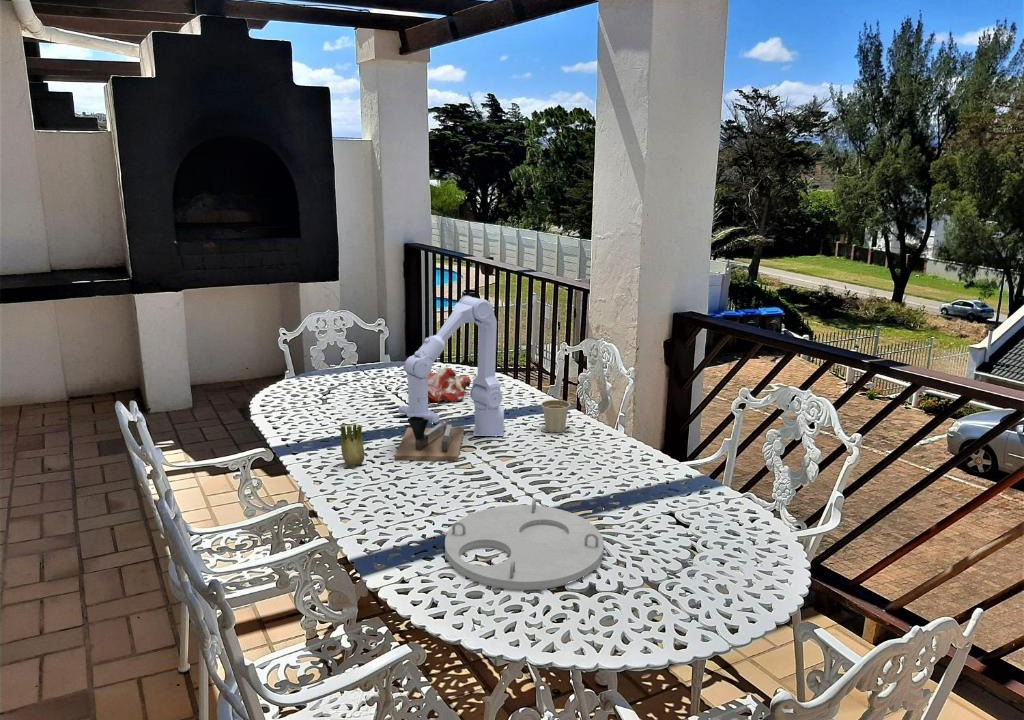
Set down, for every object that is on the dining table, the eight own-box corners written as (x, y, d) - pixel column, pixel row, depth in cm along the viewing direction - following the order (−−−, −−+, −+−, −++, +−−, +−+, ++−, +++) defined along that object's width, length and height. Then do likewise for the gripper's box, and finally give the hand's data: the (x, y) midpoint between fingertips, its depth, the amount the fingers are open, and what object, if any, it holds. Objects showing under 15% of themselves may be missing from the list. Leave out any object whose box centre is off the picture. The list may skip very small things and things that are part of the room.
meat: (466, 406, 259) (466, 379, 256) (407, 405, 260) (406, 378, 257) (472, 389, 279) (472, 364, 277) (417, 388, 280) (417, 363, 278)
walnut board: (464, 432, 232) (464, 428, 231) (457, 461, 208) (457, 456, 208) (407, 432, 232) (407, 427, 231) (394, 460, 209) (394, 455, 208)
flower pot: (536, 432, 233) (536, 406, 230) (546, 423, 241) (546, 398, 239) (564, 436, 229) (565, 410, 227) (573, 427, 238) (574, 401, 235)
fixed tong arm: (447, 433, 225) (447, 424, 225) (452, 433, 225) (452, 424, 225) (442, 451, 211) (441, 441, 210) (447, 451, 211) (447, 441, 210)
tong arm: (442, 429, 230) (441, 419, 229) (450, 430, 229) (449, 420, 228) (413, 449, 212) (413, 438, 212) (422, 450, 211) (421, 440, 211)
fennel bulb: (340, 465, 205) (338, 425, 202) (351, 459, 209) (349, 420, 206) (357, 469, 202) (355, 428, 200) (367, 463, 207) (365, 423, 204)
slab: (598, 599, 141) (599, 576, 140) (425, 582, 147) (424, 559, 146) (607, 519, 174) (607, 500, 173) (465, 507, 180) (465, 489, 179)
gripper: (390, 395, 214) (392, 438, 217) (427, 404, 206) (428, 449, 209) (407, 389, 220) (408, 432, 223) (443, 398, 211) (444, 442, 215)
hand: (419, 440), depth 216 cm, fingers closed
